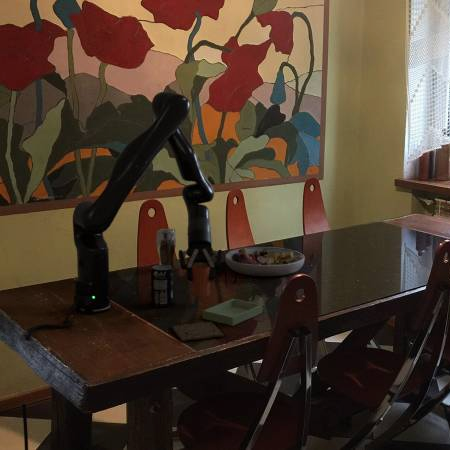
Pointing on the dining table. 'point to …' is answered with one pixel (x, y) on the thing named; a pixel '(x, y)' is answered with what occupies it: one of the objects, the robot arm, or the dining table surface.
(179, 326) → the speckled square tile
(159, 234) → the beer glass
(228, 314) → the tray
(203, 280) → the cup
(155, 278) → the beverage can
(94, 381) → the dining table surface
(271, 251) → the bowl
